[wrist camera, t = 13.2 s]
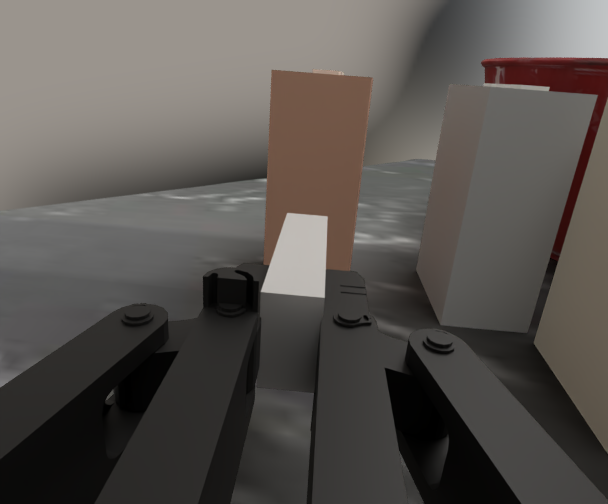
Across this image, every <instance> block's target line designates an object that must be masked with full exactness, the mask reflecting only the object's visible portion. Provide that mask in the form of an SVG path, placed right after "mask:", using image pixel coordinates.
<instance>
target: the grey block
mask: <svg viewBox="0 0 608 504" xmlns="http://www.w3.org/2000/svg"><path fill="white" fill-rule="evenodd" d="M549 88H550V87H543V86H530V85H514V84H490V83H484V85H483V86H470V85H455V84H449V89H448V94H447V100H446V106H445V111H444V117H443V122H442V128H441V134H440V140H439V145H438V150H437V156H436V162H435V167H434V173H433V178H432V184H431V190H430V195H429V201H428V206H427V212H426V218H425V223H424V229H423V234H422V240H421V246H420V251H419V257H418V262H417V268H416V271H417V273H418V275H419V278H420V280H421V282H422V284H423V287H424V289H425V291H426V294H427V296H428V298H429V300H430V303H431V305H432V307H433V310H434V312H435V314H436V316H437V319H438V321H439V323H440V325H443V326H454V327H465V328H475V329H486V330H497V331H508V332H519V333H528V330H529V327H530V323H531V320H532V317H533V313H534V310H535V306H536V303H537V300H538V296H539V293H540V289H541V286H542V283H543V279H544V276H545V272H546V269H547V266H548V262H549V259H550V255H551V252H552V249H553V245H554V242H555V239H556V235H557V232H558V228H559V225H560V222H561V218H562V215H563V211H564V208H565V205H566V201H567V198H568V194H569V191H570V188H571V184H572V181H573V178H574V174H575V171H576V167H577V164H578V161H579V157H580V154H581V150H582V147H583V144H584V140H585V137H586V133H587V130H588V127H589V123H590V120H591V116H592V113H593V110H594V106H595V103H596V100H597V96H598V95H592V94H579V93H566V92H553V91H549Z"/></svg>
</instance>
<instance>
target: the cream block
mask: <svg viewBox="0 0 608 504" xmlns="http://www.w3.org/2000/svg"><path fill="white" fill-rule="evenodd" d="M534 345H535V346H536V348H537V349H538V350H539V352H540V353H541V355H542V356H543V358H544V359H545V361H546V362H547V364H548V365H549V367H550V368H551V370H552V371H553V373H554V374H555V376H556V377H557V379H558V380H559V382H560V383H561V385H562V386H563V388H564V389H565V391H566V392H567V394H568V395H569V397H570V398H571V400H572V401H573V403H574V404H575V406H576V407H577V409H578V410H579V412H580V413H581V415H582V416H583V418H584V419H585V421H586V422H587V424H588V425H589V427H590V428H591V430H592V431H593V433H594V434H595V436H596V437H597V439H598V440H599V442H600V443H601V445H602V446H603V448H604V449H605V451H606V452H607V454H608V99H607V102H606V105H605V109H604V112H603V115H602V118H601V122H600V125H599V128H598V132H597V135H596V138H595V142H594V145H593V148H592V151H591V155H590V158H589V161H588V165H587V168H586V171H585V175H584V178H583V181H582V184H581V188H580V191H579V194H578V198H577V201H576V204H575V208H574V211H573V214H572V218H571V221H570V224H569V227H568V231H567V234H566V237H565V241H564V244H563V247H562V251H561V254H560V257H559V260H558V264H557V267H556V270H555V274H554V277H553V280H552V284H551V287H550V290H549V293H548V297H547V300H546V303H545V307H544V310H543V313H542V317H541V320H540V323H539V326H538V330H537V333H536V336H535V340H534Z"/></svg>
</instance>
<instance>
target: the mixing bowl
mask: <svg viewBox="0 0 608 504" xmlns="http://www.w3.org/2000/svg"><path fill="white" fill-rule="evenodd" d="M481 64H482V66H483V67H485V83H490V84H514V85H530V86H543V87H550V88H549V91H553V92H566V93H579V94H592V95H598V96H597V100H596V103H595V106H594V110H593V113H592V116H591V120H590V123H589V127H588V130H587V133H586V137H585V140H584V144H583V147H582V150H581V154H580V157H579V161H578V164H577V167H576V171H575V174H574V178H573V181H572V184H571V188H570V191H569V194H568V198H567V201H566V205H565V208H564V211H563V215H562V218H561V222H560V225H559V228H558V232H557V235H556V239H555V242H554V245H553V249H552V252H551V255H550V258H552V259H554V260H556V261H558V260H559V257H560V254H561V251H562V247H563V244H564V241H565V237H566V234H567V231H568V227H569V224H570V221H571V218H572V214H573V211H574V208H575V204H576V201H577V198H578V194H579V191H580V188H581V184H582V181H583V178H584V175H585V171H586V168H587V165H588V161H589V158H590V155H591V151H592V148H593V145H594V142H595V138H596V135H597V132H598V128H599V125H600V122H601V118H602V115H603V112H604V109H605V105H606V102H607V99H608V58H496V59H486V60H483V61H482V62H481Z"/></svg>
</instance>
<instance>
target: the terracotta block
mask: <svg viewBox="0 0 608 504" xmlns="http://www.w3.org/2000/svg"><path fill="white" fill-rule="evenodd" d="M372 84H373V78H370V77H358V76H345V75H344V72H340V71H330V70H317V69H313V73H306V72H305V73H304V72H293V71H280V70H272V77H271V101H270V124H269V125H270V126H269V147H268V172H267V194H266V218H265V242H264V265H270V263H271V260H272V257H273V254H274V251H275V248H276V245H277V242H278V239H279V236H280V233H281V230H282V227H283V224H284V221H285V218H286V215H287V213H295V214H306V215H318V216H328V220H327V248H326V269H331V270H343V271H350V266H351V259H352V250H353V242H354V234H355V225H356V217H357V209H358V200H359V192H360V184H361V175H362V167H363V158H364V150H365V142H366V134H367V125H368V117H369V108H370V100H371V92H372Z"/></svg>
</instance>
